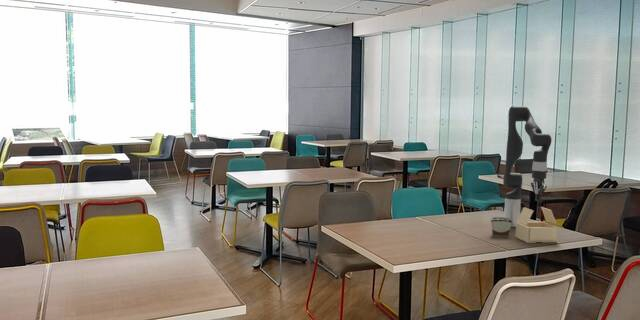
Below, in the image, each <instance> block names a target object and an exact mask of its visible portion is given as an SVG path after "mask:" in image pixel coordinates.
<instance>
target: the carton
mask: <svg viewBox="0 0 640 320" xmlns="http://www.w3.org/2000/svg"><path fill="white" fill-rule="evenodd" d="M558 228H559V227H558V226H556V225H555V224H554V225H553V224H552V223H548V222H547V221H546V222H545V221H528V223H527V225H525V224H522V223H520V222H516V227H515V235H514V236H515V238H516V239H518V240H519V239H520V240H521V241H522V242H525V243H527V244H528V243H531V244H533V243H534V244H536V242H542V243H557V242H558Z"/></svg>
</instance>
